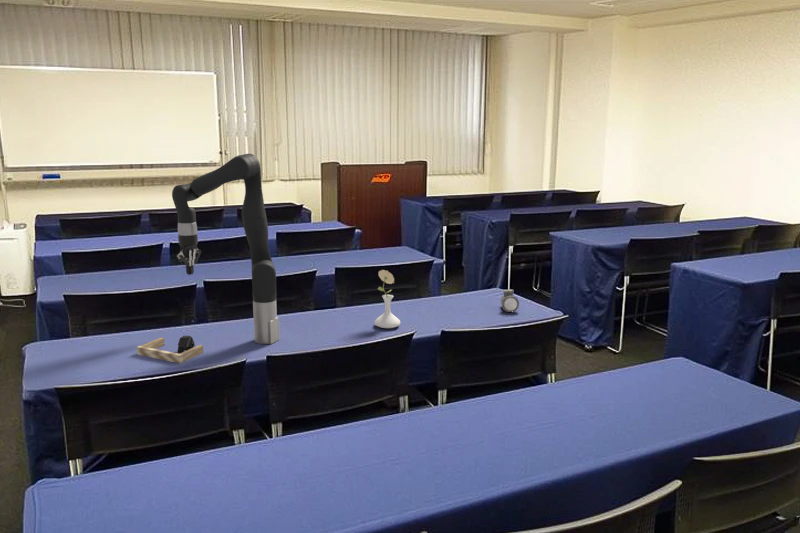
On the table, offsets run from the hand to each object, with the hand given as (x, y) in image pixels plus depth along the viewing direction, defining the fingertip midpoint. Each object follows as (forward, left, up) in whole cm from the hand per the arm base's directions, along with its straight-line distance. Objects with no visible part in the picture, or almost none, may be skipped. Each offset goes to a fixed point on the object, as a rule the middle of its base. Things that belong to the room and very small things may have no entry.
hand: (190, 274), depth 266 cm
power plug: (-15, +23, -25) cm, 38 cm away
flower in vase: (-70, -43, -25) cm, 86 cm away
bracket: (-10, +23, -25) cm, 36 cm away
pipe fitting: (-112, -92, -25) cm, 147 cm away
